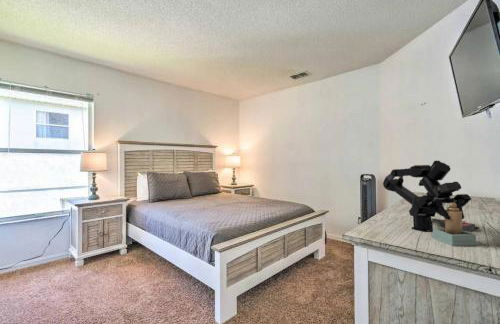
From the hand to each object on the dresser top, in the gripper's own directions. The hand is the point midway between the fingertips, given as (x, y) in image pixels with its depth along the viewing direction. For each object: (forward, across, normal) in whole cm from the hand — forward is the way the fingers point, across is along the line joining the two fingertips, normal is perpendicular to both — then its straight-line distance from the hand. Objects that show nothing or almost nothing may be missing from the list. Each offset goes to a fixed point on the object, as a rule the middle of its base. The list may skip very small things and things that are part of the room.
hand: (456, 218), depth 94 cm
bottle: (+4, 0, +6) cm, 7 cm away
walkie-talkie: (-9, +17, +23) cm, 30 cm away
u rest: (+6, 0, +7) cm, 9 cm away
